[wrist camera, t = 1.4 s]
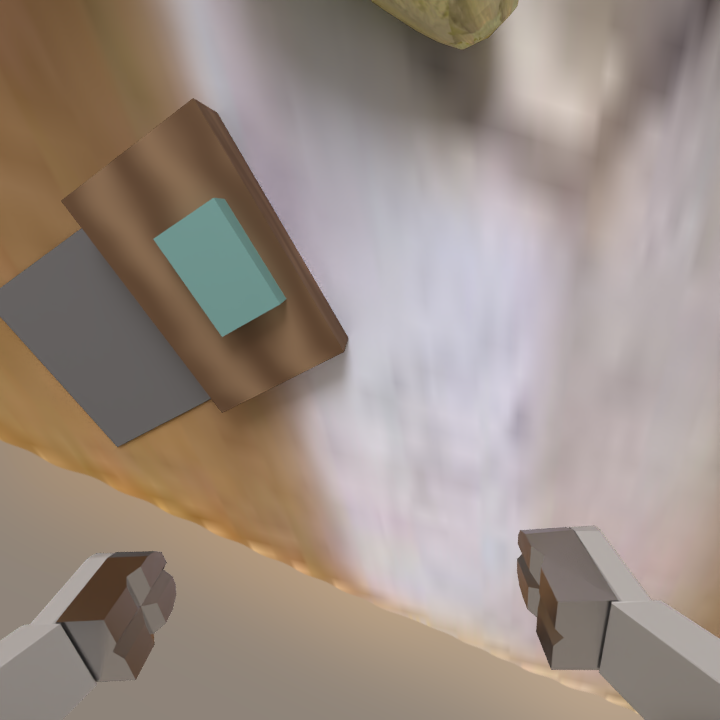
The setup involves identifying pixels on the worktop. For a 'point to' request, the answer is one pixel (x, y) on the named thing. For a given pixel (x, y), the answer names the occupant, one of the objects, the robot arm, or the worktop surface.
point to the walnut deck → (165, 287)
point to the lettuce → (451, 18)
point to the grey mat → (98, 341)
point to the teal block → (220, 266)
